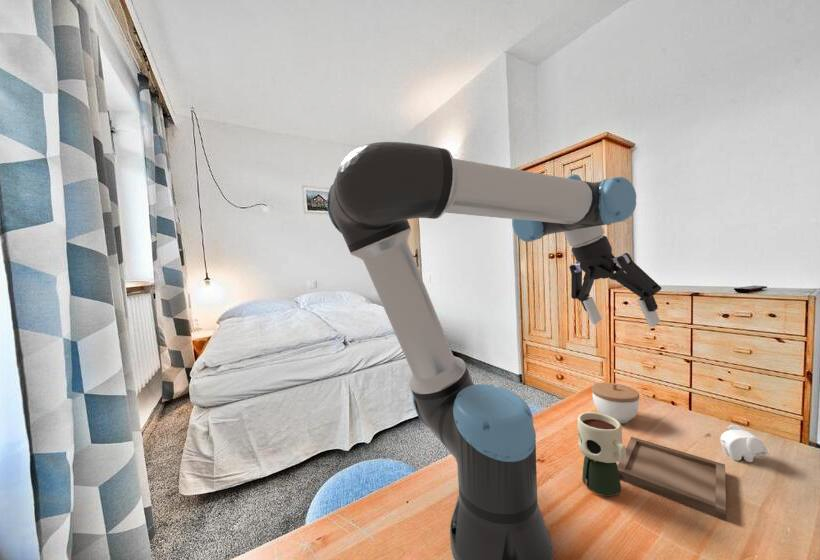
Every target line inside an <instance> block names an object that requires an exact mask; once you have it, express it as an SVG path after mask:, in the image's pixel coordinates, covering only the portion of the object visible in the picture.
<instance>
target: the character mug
mask: <svg viewBox="0 0 820 560" xmlns="http://www.w3.org/2000/svg"><path fill="white" fill-rule="evenodd" d="M576 421H577V422H576V423H577V424H576V425H577V426H576V427H577V432H578V437H577V443H578V449H579V450H580V452H581V454H583V456H584V458H583V465H582V467H583V468H582V475H581V476H582V483H583V484H584V485H586V481H587V482H588V488H589V490H590V491H592V492H594V493H596V494H598V495H601V496H606V497H610V496H615V495H617V494H619V493H621V490H622V484H621V483H622V482H621V480H620V477H619V472H618V467H617V466H618V463H619V462H622V463H625V462H626V446H625V445H624V444H623V428H622V423H620V422H619V421H618V420H616V419H615V418H613V417H611V416H609V415H605V414H601V413H599V412H594V411H586V412H582V413H579V415H578V417H577V420H576Z"/></svg>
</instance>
